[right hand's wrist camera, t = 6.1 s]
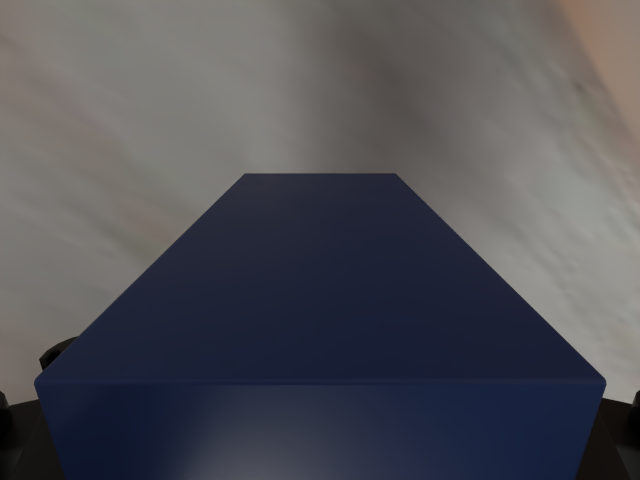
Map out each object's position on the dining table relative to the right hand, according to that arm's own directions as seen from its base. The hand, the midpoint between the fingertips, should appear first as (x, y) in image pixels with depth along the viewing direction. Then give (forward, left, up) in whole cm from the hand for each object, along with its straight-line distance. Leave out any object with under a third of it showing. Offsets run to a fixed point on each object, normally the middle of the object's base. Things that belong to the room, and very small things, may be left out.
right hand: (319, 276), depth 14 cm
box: (+7, +2, -3) cm, 7 cm away
